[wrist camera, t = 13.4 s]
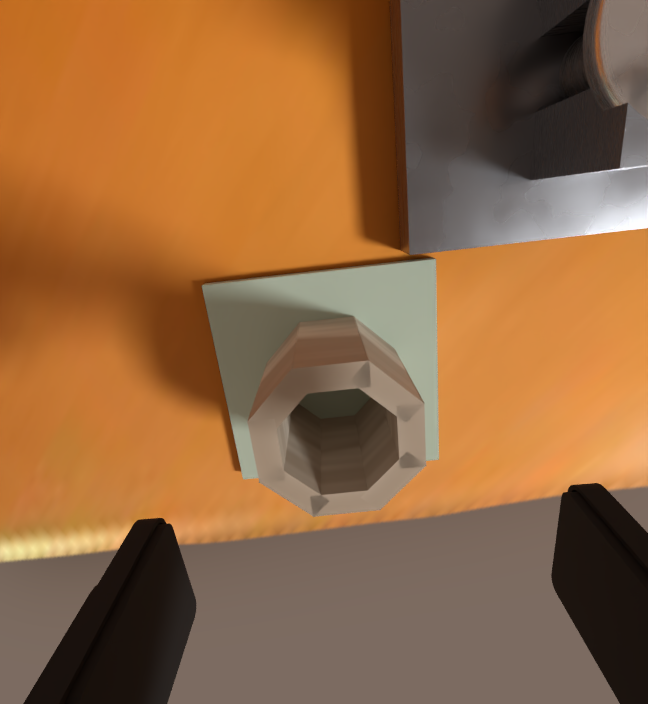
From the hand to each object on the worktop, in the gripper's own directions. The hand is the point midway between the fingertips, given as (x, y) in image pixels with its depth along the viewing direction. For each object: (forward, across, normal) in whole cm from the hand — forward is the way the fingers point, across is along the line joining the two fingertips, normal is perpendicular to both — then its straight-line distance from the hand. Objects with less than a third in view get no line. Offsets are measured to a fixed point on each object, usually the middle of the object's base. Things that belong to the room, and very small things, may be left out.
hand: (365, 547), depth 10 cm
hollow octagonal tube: (+11, +1, +1) cm, 11 cm away
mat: (+12, +1, +1) cm, 12 cm away
